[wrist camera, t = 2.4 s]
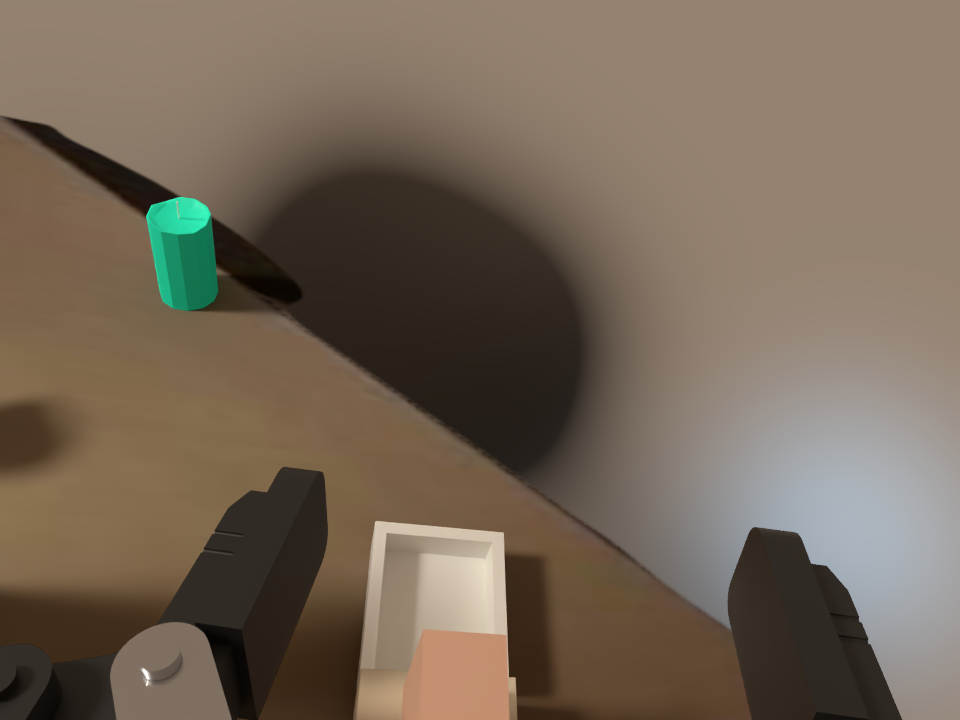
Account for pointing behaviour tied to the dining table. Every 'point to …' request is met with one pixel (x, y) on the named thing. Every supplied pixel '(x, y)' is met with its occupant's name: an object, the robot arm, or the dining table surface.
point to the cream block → (396, 695)
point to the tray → (429, 589)
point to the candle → (183, 253)
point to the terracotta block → (457, 677)
